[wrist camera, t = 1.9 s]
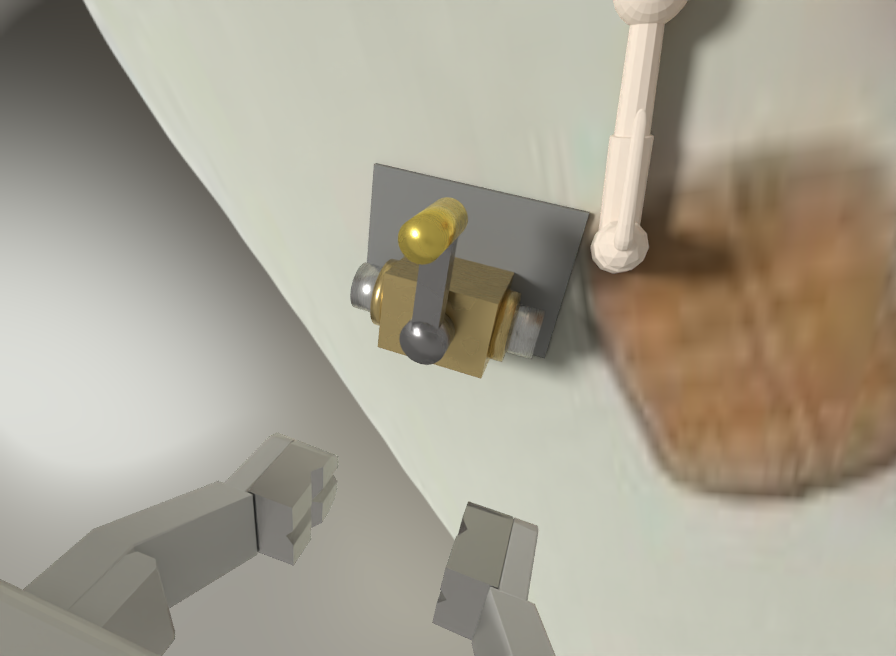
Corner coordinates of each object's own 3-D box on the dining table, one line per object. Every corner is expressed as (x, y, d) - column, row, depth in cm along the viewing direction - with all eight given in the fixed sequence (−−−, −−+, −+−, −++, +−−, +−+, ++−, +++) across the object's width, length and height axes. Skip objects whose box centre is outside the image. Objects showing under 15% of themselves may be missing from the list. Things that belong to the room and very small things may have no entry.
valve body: (553, 282, 35) (543, 316, 30) (534, 349, 38) (522, 391, 33) (380, 237, 38) (344, 262, 33) (374, 303, 41) (341, 335, 36)
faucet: (680, -7, 30) (721, -131, 20) (643, 275, 32) (664, 280, 23) (612, -2, 31) (622, -117, 21) (582, 270, 34) (579, 273, 24)
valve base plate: (589, 212, 33) (589, 213, 32) (545, 355, 39) (544, 358, 38) (376, 163, 35) (373, 164, 35) (365, 303, 41) (363, 305, 41)
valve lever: (451, 354, 33) (425, 398, 28) (409, 341, 34) (376, 383, 29) (479, 201, 28) (453, 226, 23) (428, 190, 28) (392, 211, 24)
